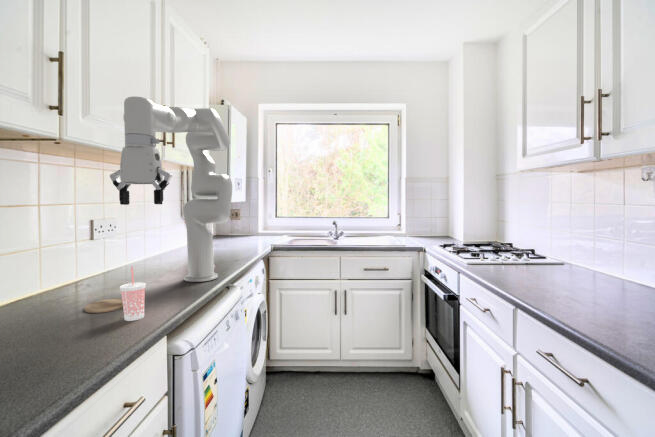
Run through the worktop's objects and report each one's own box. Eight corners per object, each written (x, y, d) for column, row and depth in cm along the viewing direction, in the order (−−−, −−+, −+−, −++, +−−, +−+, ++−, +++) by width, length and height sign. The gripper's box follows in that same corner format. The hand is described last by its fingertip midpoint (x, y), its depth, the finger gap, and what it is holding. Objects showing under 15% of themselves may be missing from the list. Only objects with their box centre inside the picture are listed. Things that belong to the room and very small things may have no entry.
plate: (102, 301, 108) (102, 298, 107) (136, 301, 107) (136, 298, 107) (75, 312, 97) (74, 309, 97) (112, 313, 96) (112, 309, 96)
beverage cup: (152, 314, 95) (150, 264, 94) (135, 322, 89) (133, 269, 88) (133, 313, 96) (131, 264, 95) (115, 321, 90) (113, 268, 89)
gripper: (177, 145, 99) (178, 204, 99) (119, 146, 100) (120, 204, 100) (163, 140, 91) (164, 203, 92) (100, 141, 92) (102, 204, 92)
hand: (141, 204), depth 96 cm, fingers open, 9 cm apart
